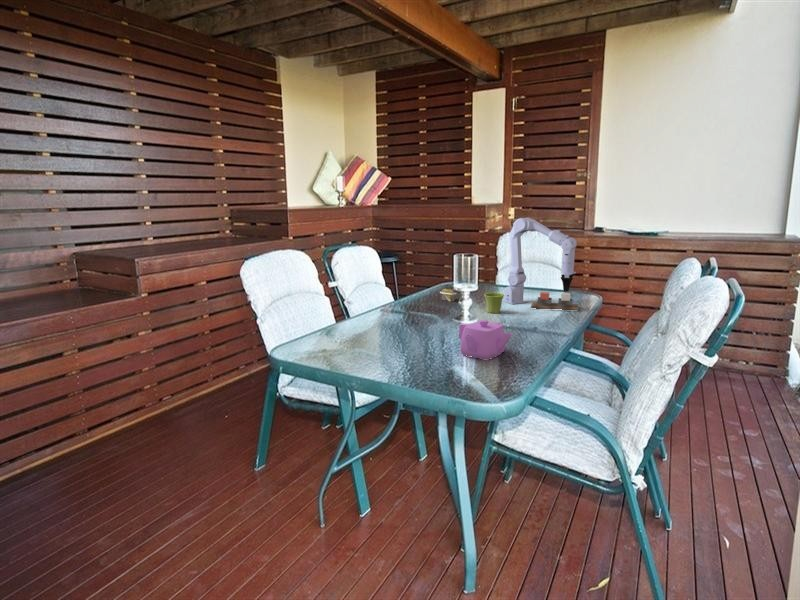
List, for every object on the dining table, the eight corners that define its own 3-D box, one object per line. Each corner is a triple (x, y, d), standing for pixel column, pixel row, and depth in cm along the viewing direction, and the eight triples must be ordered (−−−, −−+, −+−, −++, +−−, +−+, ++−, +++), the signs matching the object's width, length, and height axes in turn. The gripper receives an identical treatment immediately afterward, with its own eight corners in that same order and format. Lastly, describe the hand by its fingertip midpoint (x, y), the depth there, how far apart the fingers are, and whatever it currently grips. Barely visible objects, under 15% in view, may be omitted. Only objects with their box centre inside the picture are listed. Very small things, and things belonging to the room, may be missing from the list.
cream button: (570, 299, 250) (570, 293, 250) (570, 300, 247) (570, 294, 246) (561, 298, 252) (561, 292, 251) (561, 300, 248) (561, 294, 247)
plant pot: (507, 313, 242) (508, 295, 240) (490, 315, 238) (491, 297, 236) (496, 309, 250) (497, 292, 248) (480, 311, 247) (480, 293, 245)
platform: (455, 305, 261) (456, 293, 260) (427, 301, 272) (427, 289, 270) (467, 301, 270) (467, 289, 269) (439, 297, 281) (439, 286, 280)
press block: (577, 307, 253) (578, 298, 252) (577, 312, 243) (578, 302, 242) (532, 304, 260) (533, 295, 259) (530, 308, 250) (531, 300, 249)
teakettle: (498, 345, 191) (499, 314, 189) (513, 360, 175) (514, 325, 172) (454, 347, 189) (454, 315, 187) (465, 362, 173) (466, 327, 170)
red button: (549, 298, 254) (549, 292, 253) (548, 299, 250) (549, 293, 249) (540, 297, 255) (540, 291, 254) (540, 299, 251) (540, 293, 251)
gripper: (576, 265, 237) (574, 293, 240) (576, 261, 251) (574, 287, 254) (560, 264, 240) (559, 292, 242) (561, 260, 253) (560, 287, 256)
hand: (566, 290), depth 248 cm, fingers open, 6 cm apart
